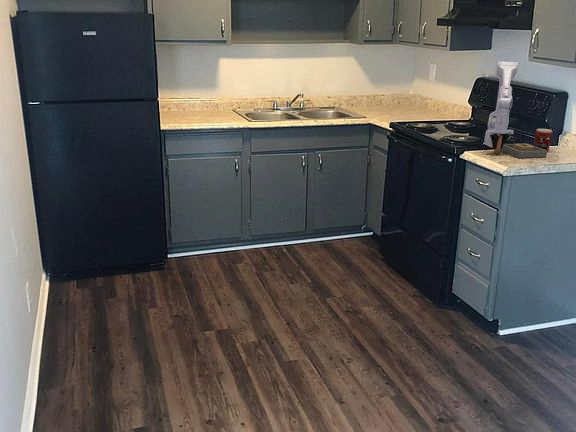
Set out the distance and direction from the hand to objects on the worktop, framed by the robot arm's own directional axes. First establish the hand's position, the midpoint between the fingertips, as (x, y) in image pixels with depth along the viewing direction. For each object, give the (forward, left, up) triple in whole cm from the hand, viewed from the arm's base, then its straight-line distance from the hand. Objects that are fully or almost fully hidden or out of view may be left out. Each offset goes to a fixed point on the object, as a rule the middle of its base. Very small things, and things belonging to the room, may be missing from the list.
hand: (497, 148), depth 296 cm
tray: (+2, +14, -3) cm, 14 cm away
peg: (0, 0, -2) cm, 2 cm away
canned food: (-4, +30, -3) cm, 30 cm away
